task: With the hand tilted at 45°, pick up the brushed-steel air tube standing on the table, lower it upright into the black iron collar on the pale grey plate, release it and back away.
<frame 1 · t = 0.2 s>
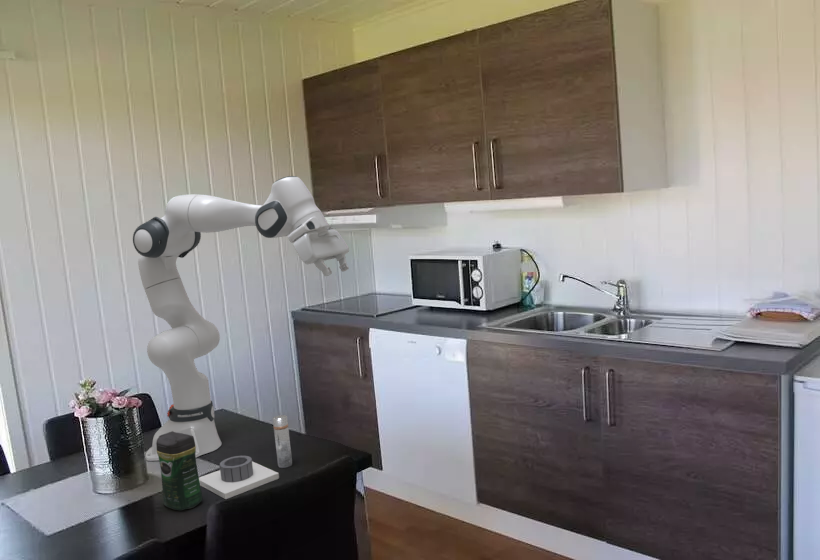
hand: (337, 272, 189), 54 cm above the table, tool tilted 30°, fingers open, 8 cm apart
air tube: (285, 464, 199), on the table
collar plate: (238, 481, 190), on the table
coffee jar: (183, 504, 178), on the table
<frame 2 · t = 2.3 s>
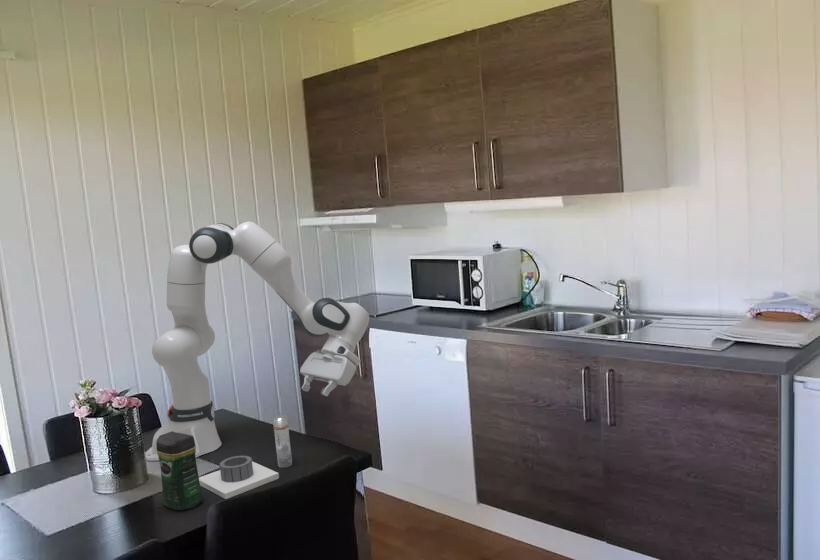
hand: (313, 392, 205), 18 cm above the table, tool tilted 45°, fingers open, 8 cm apart
nothing on the table moved.
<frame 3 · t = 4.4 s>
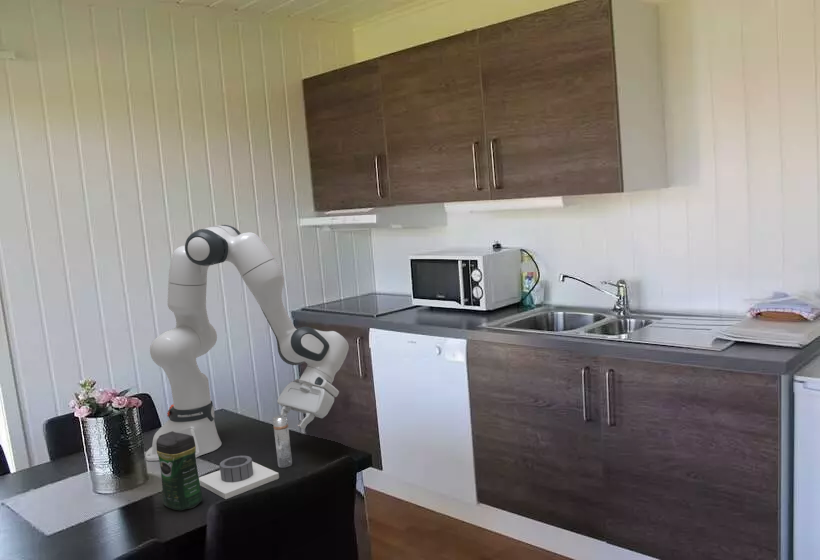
hand: (290, 424, 200), 11 cm above the table, tool tilted 45°, fingers open, 8 cm apart
nothing on the table moved.
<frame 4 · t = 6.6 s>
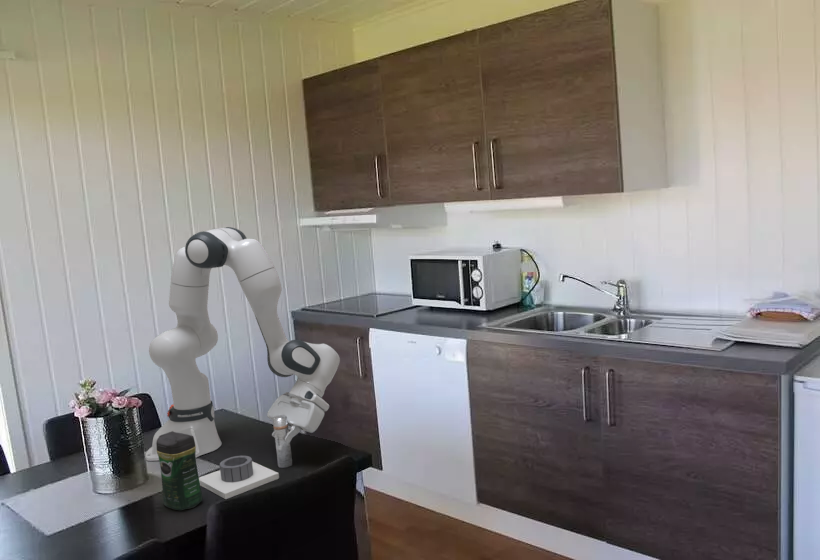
hand: (280, 439, 197), 8 cm above the table, tool tilted 45°, fingers closed on air tube, 4 cm apart
air tube: (285, 464, 199), on the table, touching gripper
everything else where it was.
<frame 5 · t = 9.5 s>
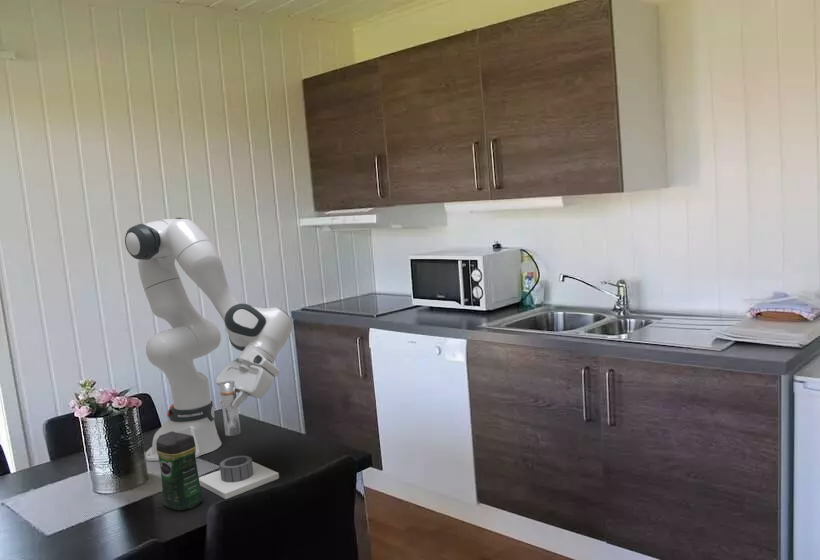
hand: (227, 405, 187), 21 cm above the table, tool tilted 45°, fingers closed on air tube, 4 cm apart
air tube: (232, 433, 189), point 13 cm above the table, touching gripper
everything else where it was.
when the fingers open (11 cm above the table, at t = 12.8 s): air tube drops 1 cm, resting on collar plate.
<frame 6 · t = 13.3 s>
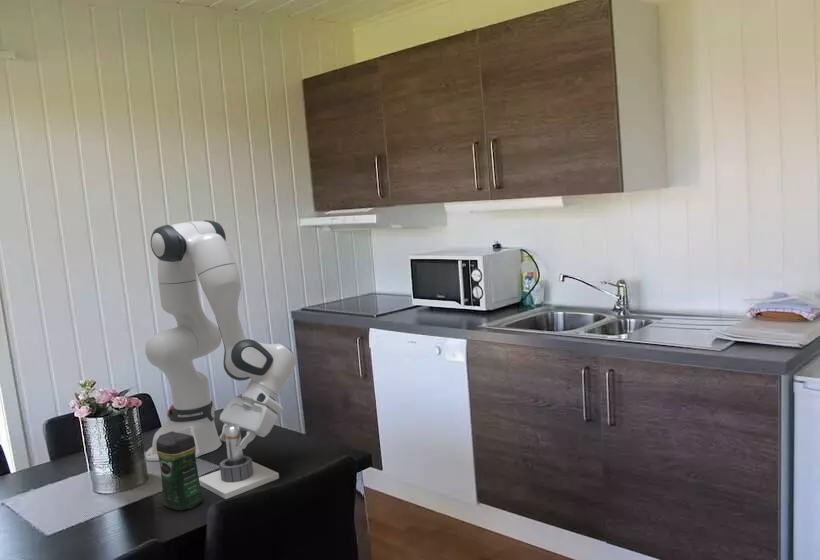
hand: (231, 443, 188), 11 cm above the table, tool tilted 45°, fingers open, 8 cm apart
air tube: (237, 475, 190), point 2 cm above the table, touching collar plate
everything else where it was.
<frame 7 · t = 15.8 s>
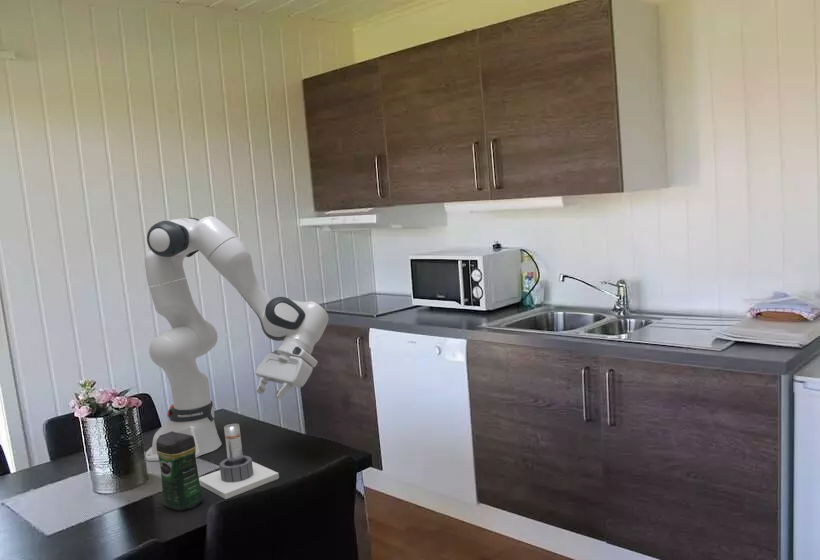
hand: (268, 395, 196), 21 cm above the table, tool tilted 45°, fingers open, 8 cm apart
nothing on the table moved.
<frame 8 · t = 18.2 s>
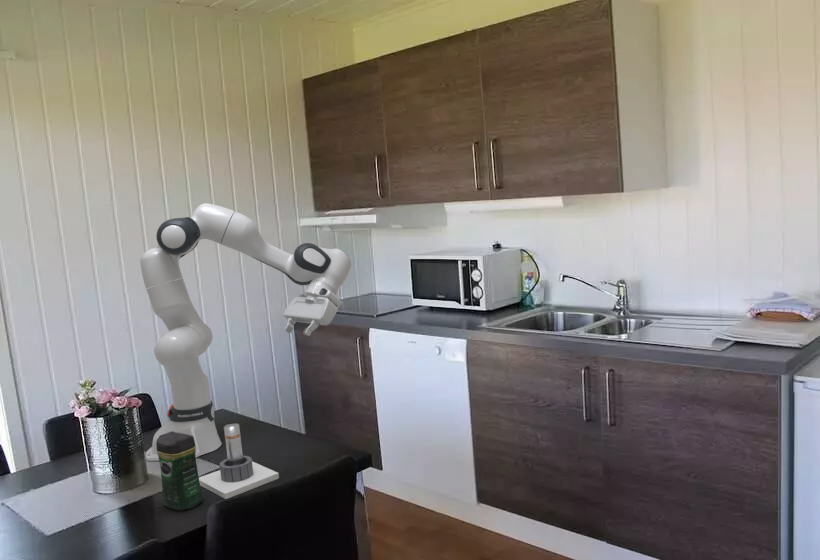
hand: (296, 333, 211), 34 cm above the table, tool tilted 45°, fingers open, 8 cm apart
nothing on the table moved.
at the end: air tube 0.0 cm off-centre on the collar plate, point 1.5 cm above the collar plate's base; air tube tilted 0°; the gripper is holding nothing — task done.
